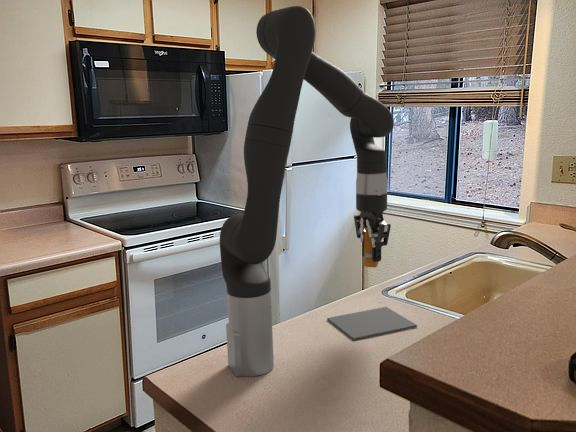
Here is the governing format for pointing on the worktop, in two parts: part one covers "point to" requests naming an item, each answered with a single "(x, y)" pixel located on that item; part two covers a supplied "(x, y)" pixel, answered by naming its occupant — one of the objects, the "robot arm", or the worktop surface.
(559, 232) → the worktop surface
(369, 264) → the supplement box
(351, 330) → the mat
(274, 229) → the robot arm
